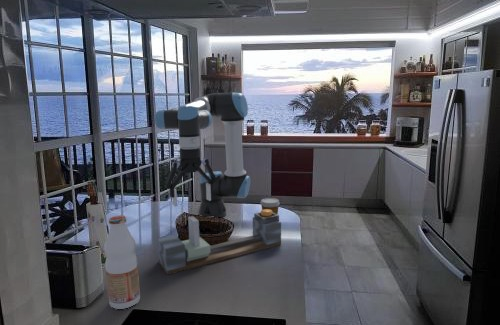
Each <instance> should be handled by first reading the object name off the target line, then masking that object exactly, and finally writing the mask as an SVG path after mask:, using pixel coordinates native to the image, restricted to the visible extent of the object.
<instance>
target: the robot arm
mask: <svg viewBox="0 0 500 325" xmlns="http://www.w3.org/2000/svg"><path fill="white" fill-rule="evenodd" d="M248 106H249V105H248V102H247V98H246V97H245V94H244V93H241V92H234V91H233V92H212V93H208V94H205V95H202V96H199V97H197V98H194V100H193V101H192V102H188V103H186V104H183V105H180V106H177V107H174V108H171V109H162V110H157V111H156V113H155V114H154V123H155V126H156V128H158V129H162V130H163V129H164V130H178V144H179V146H178V147H179V148H180V149H179V162H177V161H176V162H175V161H172V162H171V168H170V171H169V172H168V175H167V177H166V180H165V183H164V186H163V187H164V188H166V189H169V196H170V198H172V205H173V206H174V207H175V208H176V207H178V194H177V189H176V187H177V185H178V184H179V182H180V181H181V180H182V178H183V177H184V175H185V174H186V173H188V174H190V173H196V172H197V173H198V174H199V175H200V177H199V180H200V181H199V185H200V186H199V187H200V204H199V208H198V211H197V212H198V214H197V215H202V216H214V217H221V218H224V217H225V216H227V208H226V206H225V203H224V200H223V199H224V198H234V199H245V198H247V196H248V195H249V191H250V190H251V189H250V188H251V177H250V176H249V175H247V171H246V169H245V168H244V156H243V155H244V153H243V133H242V132H243V130H242V129H243V128H242V123H243V122H244V120H245V118H246V117H247V116H248V114H249V113H248V111H249V108H248ZM213 117H215V118H216V117H217V118H218V117H219V118H220V122H221V123H223V127H224V140H225V141H224V144H225V145H224V146H225V159H226V170H225V171H224V173H223V172H222V171H220V170H219V171H218V170H217V171H216V170H215V171H213V169H212V168H211V166H210V162H209V159H208V158H204V157H203V159H201V148H200V146H201V143H200V142H201V141H200V140H201V139H200V138H201V137H200V130H205V129H207V128H209V127H210V126H211V125H212V122H213ZM201 165H203V166H204V168H205V170H206V172H204V170H203V168H202V167H200V166H201ZM179 167H180V169H179ZM177 169H179V171H178V173H177V174H176V172H177ZM175 174H176V175H175Z"/></svg>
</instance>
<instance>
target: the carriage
mask: <svg viewBox="0 0 500 325" xmlns="http://www.w3.org/2000/svg"><path fill="white" fill-rule="evenodd" d="M187 220H188V223H187V224H188V239H186V240H181V241H182V242H183V243H184V244H185V256H186V261H187V262H188V261H191V260H195V259H199V258H203V257H207V256H209V253H211V252H210V246H211V245H210V244H209V243H208V242H207V241H206V240H205V239H203V238H202V237H201V236H200V228H199V227H200V222H199V220H198V219H197V218H196V217H195V216H194V215H191V216H188V218H187Z"/></svg>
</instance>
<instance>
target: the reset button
mask: <svg viewBox="0 0 500 325" xmlns="http://www.w3.org/2000/svg"><path fill="white" fill-rule="evenodd" d="M260 212H261V216H262V217H264V218H265V217H269V216H272V210H269V209H264V210H262V209H261V210H260Z"/></svg>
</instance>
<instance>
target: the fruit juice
mask: <svg viewBox="0 0 500 325" xmlns="http://www.w3.org/2000/svg"><path fill="white" fill-rule="evenodd" d="M108 224H109V225H110V227H109V231H108V235H107V237H106V240H105V242H104V244H103V249H104V253H105V256H106V259H105V264H104V266H105V274H106V284H107V295H108V296H107V297H108V303H109V306H110V308H112V307H113V308H117V309H124V308H128V307H131V306H133V305H135V304H136V303H137V304H138V303H139V302H140V300H141V290H140V278H139V276H140V275H139V265H138V264H139V263H138V257H137V254H136V240H135V238H134V237H133V236H132V234H131V232H130V230H129V228H128V226H127V225H126V224H127V217H126V216H125V215H115V216H111V217H110V218H109V220H108ZM137 304H136V305H137ZM136 305H135V306H136ZM133 307H134V306H133ZM113 308H112V309H113ZM131 308H132V307H131ZM117 309H116V310H117ZM128 309H129V308H128ZM124 310H125V309H124Z"/></svg>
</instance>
